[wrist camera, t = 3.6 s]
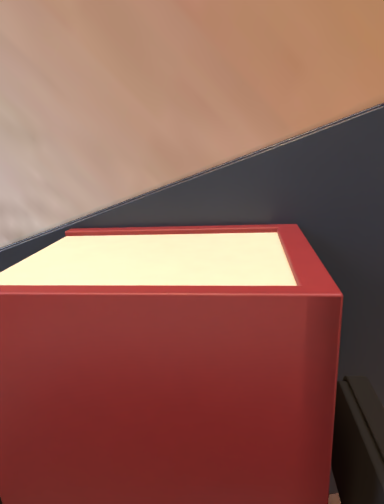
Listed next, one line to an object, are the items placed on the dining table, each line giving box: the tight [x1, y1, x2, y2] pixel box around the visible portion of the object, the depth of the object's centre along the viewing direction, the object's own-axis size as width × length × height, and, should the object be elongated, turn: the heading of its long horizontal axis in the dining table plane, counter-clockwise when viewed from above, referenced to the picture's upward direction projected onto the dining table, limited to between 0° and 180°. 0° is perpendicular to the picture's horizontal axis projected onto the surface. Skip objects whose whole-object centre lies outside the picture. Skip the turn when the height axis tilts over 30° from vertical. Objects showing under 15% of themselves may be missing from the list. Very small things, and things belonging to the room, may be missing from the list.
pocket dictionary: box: [0, 224, 343, 504], centre depth 10 cm, size 7×10×5 cm, turn 3°
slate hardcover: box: [0, 103, 384, 494], centre depth 13 cm, size 16×12×2 cm
